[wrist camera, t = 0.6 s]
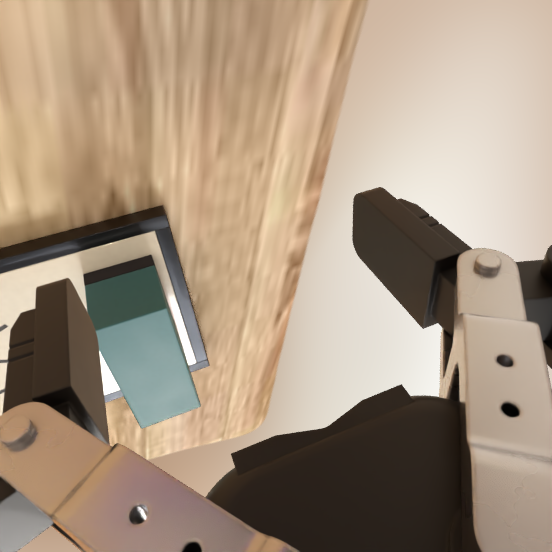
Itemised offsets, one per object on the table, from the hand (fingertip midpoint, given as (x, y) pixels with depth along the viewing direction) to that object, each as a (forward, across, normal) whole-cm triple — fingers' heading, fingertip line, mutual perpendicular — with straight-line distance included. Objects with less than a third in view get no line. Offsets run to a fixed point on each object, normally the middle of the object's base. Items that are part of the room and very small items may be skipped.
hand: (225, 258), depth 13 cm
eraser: (+17, +5, +16) cm, 24 cm away
